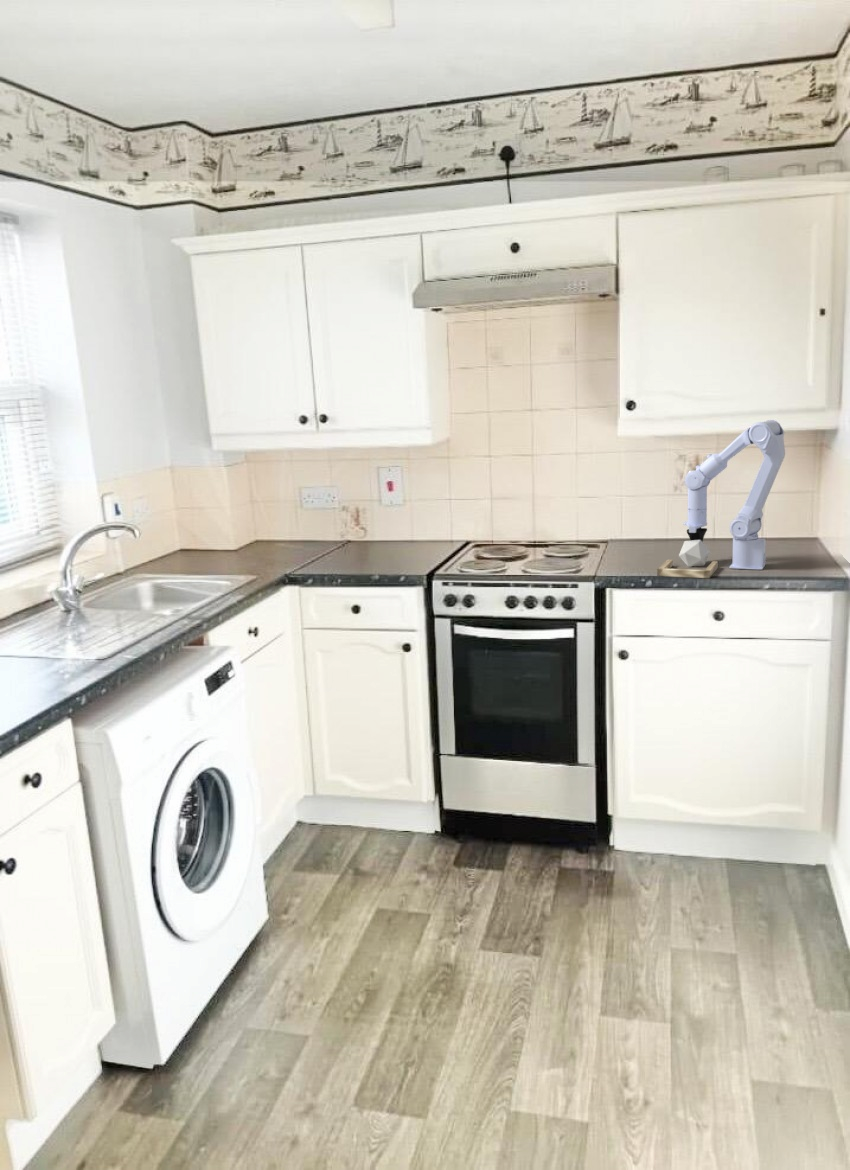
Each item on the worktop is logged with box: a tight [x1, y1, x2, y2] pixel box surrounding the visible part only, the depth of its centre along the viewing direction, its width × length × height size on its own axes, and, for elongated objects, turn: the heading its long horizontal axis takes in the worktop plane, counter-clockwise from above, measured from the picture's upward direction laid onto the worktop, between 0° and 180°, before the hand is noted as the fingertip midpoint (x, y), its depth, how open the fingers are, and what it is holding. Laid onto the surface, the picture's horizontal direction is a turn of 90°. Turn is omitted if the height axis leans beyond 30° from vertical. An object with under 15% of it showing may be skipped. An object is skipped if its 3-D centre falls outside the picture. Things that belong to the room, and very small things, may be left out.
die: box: [678, 540, 711, 568], centre depth 279 cm, size 8×9×10 cm
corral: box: [656, 559, 719, 579], centre depth 272 cm, size 15×14×2 cm
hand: (696, 551), depth 284 cm, fingers closed
